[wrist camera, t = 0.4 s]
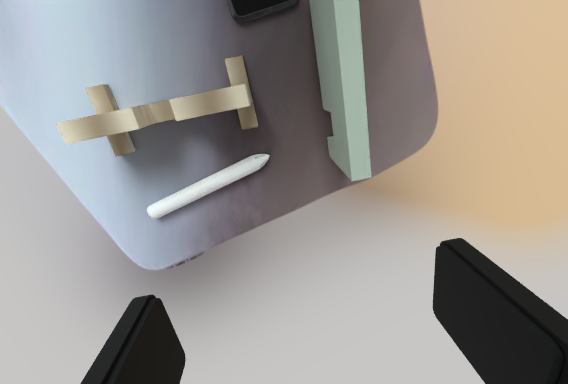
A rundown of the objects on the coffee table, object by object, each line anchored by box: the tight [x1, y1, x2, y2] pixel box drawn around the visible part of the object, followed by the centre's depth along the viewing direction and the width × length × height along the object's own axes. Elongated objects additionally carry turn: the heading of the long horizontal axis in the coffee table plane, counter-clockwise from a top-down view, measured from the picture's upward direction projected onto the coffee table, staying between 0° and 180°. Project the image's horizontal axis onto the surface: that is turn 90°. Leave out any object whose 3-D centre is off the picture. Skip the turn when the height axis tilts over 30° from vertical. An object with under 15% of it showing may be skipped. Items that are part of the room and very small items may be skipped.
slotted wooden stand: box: [56, 55, 258, 156], centre depth 29 cm, size 18×8×8 cm, turn 101°
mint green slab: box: [309, 0, 371, 181], centre depth 28 cm, size 18×2×10 cm, turn 11°
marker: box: [147, 154, 270, 219], centre depth 36 cm, size 18×2×2 cm, turn 115°
